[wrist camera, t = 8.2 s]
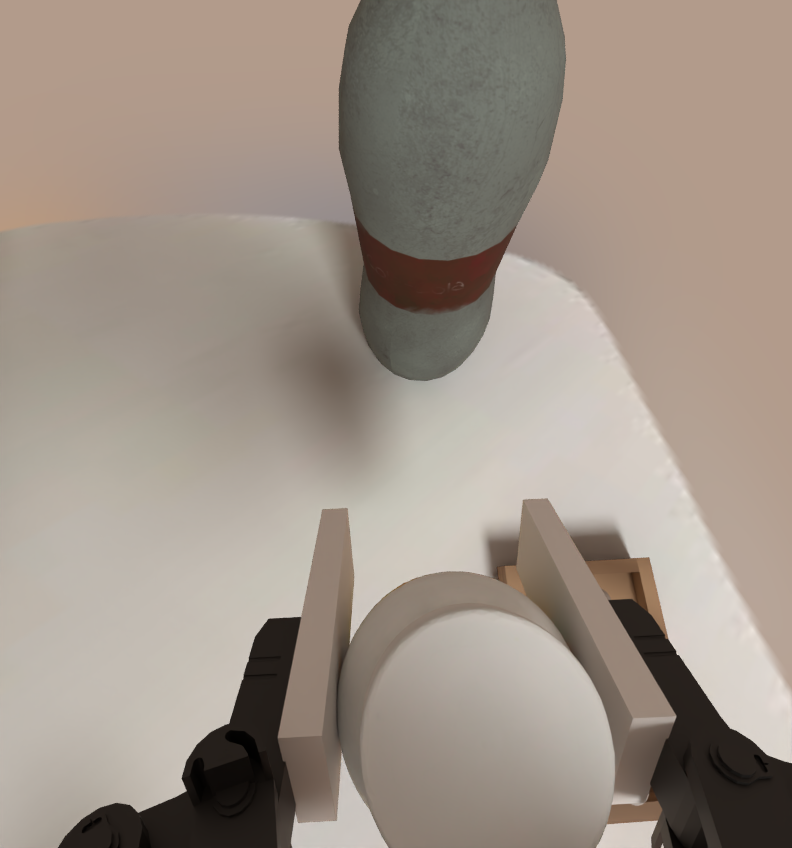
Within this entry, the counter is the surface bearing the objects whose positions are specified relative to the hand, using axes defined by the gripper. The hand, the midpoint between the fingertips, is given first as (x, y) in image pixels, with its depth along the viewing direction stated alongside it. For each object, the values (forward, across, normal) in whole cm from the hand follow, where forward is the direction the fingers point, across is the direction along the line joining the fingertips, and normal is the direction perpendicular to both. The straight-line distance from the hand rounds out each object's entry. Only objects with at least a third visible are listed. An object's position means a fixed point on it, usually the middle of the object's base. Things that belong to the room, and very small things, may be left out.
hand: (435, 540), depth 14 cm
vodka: (+24, +2, 0) cm, 24 cm away
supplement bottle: (0, 0, -5) cm, 5 cm away
